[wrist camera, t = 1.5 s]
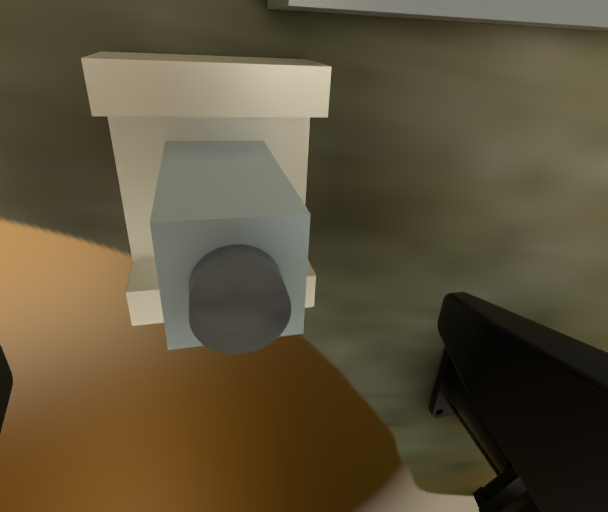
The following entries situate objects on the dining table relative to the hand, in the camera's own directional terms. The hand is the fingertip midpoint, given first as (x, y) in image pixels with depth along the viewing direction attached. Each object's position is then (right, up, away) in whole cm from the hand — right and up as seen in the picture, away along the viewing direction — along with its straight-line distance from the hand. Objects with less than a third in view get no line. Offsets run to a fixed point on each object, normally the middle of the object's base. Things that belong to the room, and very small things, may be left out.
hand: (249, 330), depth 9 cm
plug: (-2, +4, +7) cm, 9 cm away
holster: (-2, +5, +8) cm, 10 cm away
